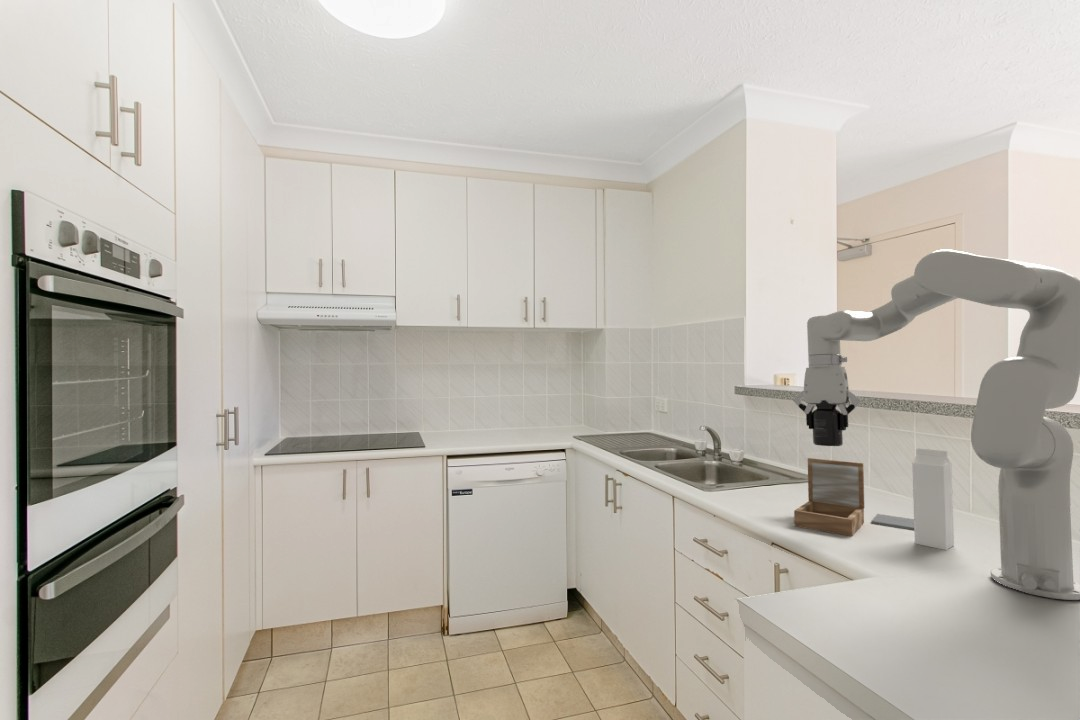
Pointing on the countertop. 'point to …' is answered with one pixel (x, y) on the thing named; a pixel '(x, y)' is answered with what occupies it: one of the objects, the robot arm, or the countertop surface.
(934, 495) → the milk
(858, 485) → the box
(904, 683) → the countertop surface
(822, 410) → the supplement bottle
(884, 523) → the slate tile
